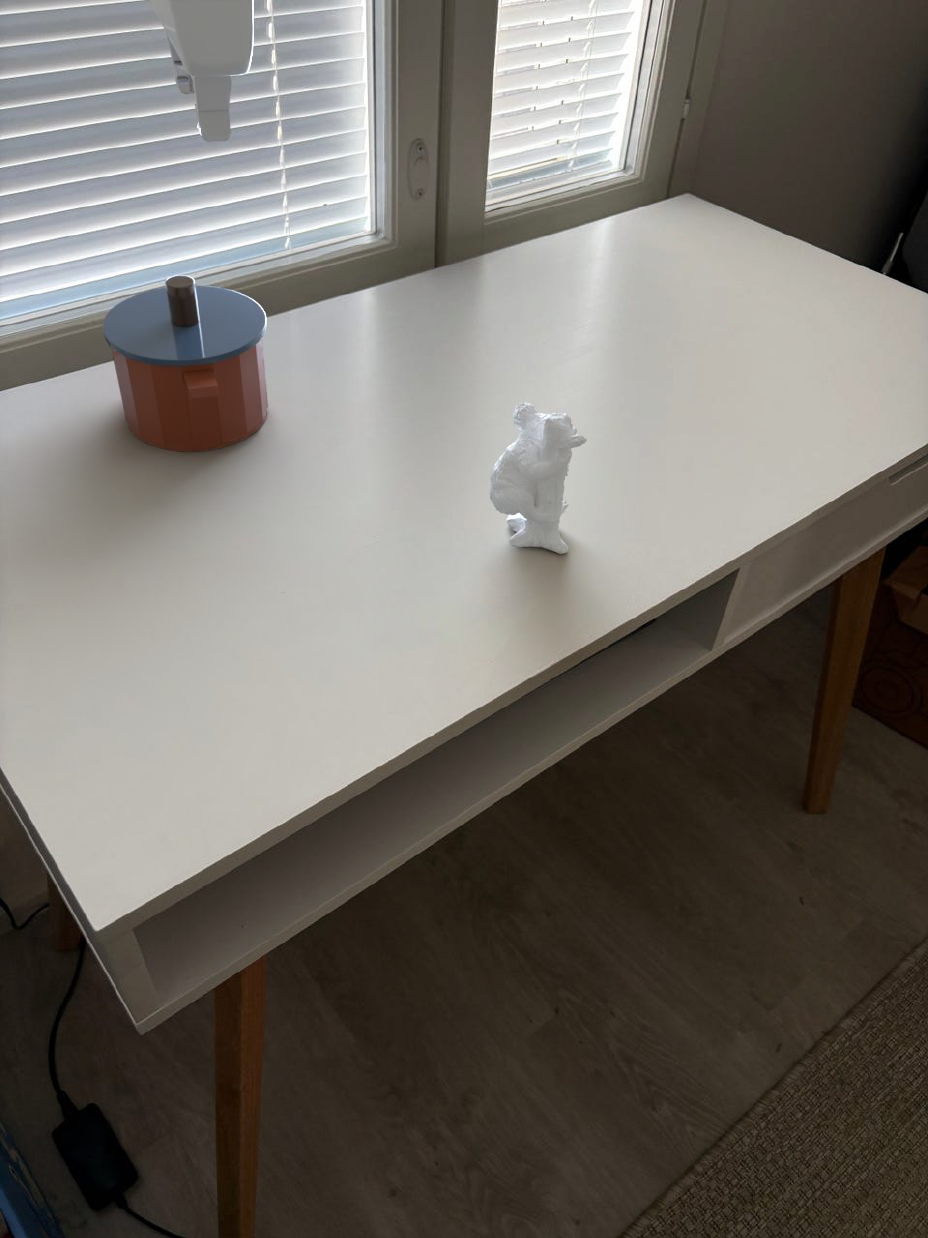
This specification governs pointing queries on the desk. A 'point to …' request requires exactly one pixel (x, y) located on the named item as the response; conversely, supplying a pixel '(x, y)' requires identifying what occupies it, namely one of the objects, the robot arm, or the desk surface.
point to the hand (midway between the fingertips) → (202, 112)
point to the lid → (184, 324)
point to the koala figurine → (535, 477)
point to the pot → (194, 401)
